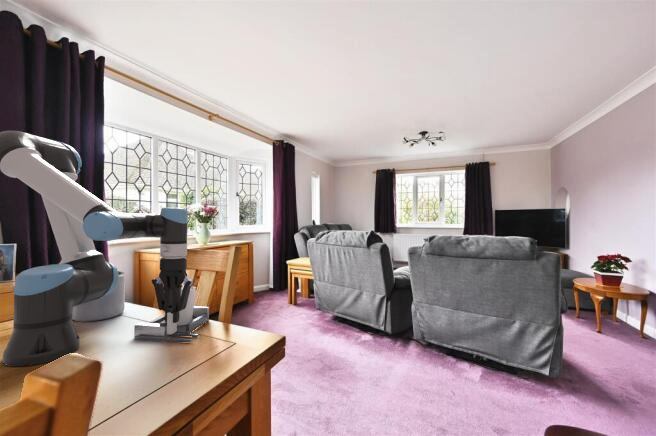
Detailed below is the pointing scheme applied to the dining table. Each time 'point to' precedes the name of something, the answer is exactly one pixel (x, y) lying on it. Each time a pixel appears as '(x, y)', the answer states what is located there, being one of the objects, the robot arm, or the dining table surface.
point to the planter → (102, 305)
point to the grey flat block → (151, 329)
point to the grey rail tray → (197, 320)
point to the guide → (151, 338)
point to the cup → (187, 308)
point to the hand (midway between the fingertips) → (171, 332)
